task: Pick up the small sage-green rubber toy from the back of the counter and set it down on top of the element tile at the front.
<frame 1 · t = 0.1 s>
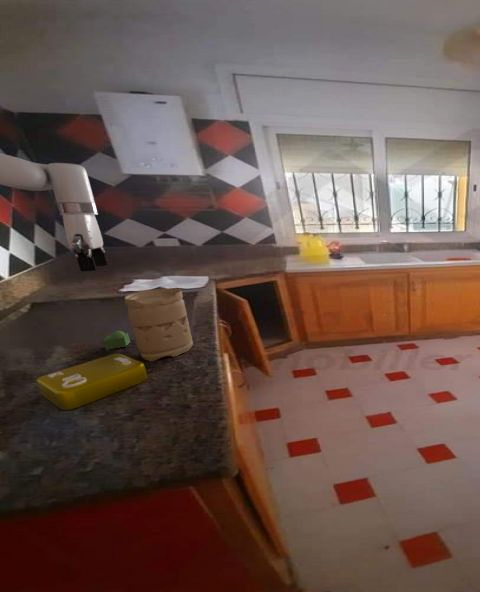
hand: (95, 268, 95), 24 cm above the counter, tool pointing down, fingers open, 9 cm apart
toy: (118, 346, 97), on the counter
element tile: (98, 387, 76), on the counter
container: (168, 352, 94), on the counter
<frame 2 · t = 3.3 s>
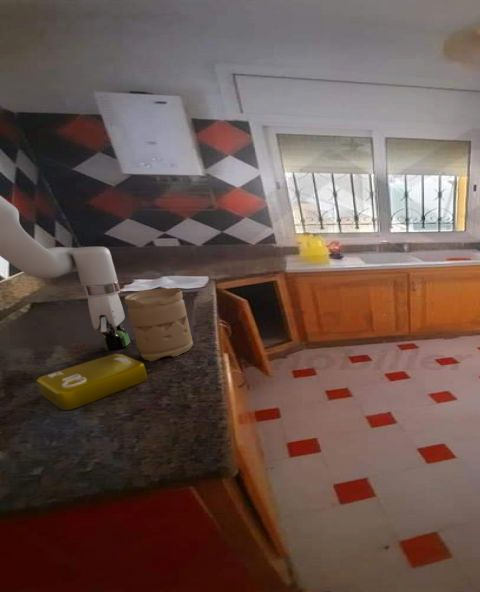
hand: (118, 345, 97), 0 cm above the counter, tool pointing down, fingers closed on toy, 4 cm apart
toy: (118, 346, 97), on the counter, touching gripper
everything else where it was.
when the fingers open (5 cm above the counter, at t = 12.3 s): toy stays where it is, resting on element tile.
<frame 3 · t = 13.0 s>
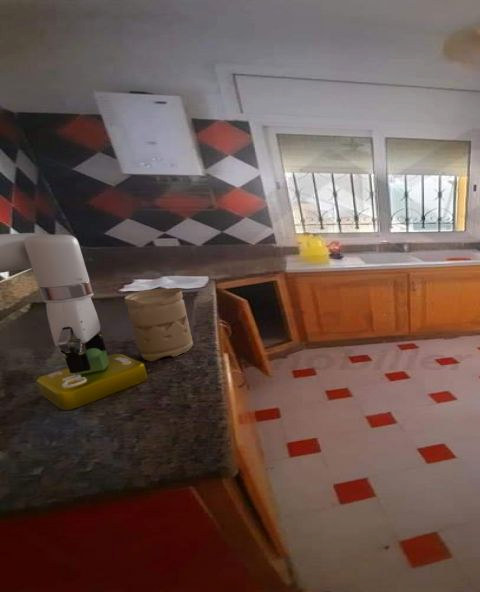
hand: (89, 362, 74), 7 cm above the counter, tool pointing down, fingers open, 9 cm apart
toy: (93, 368, 74), point 5 cm above the counter, touching element tile
element tile: (98, 387, 76), on the counter, touching toy
everything else where it was.
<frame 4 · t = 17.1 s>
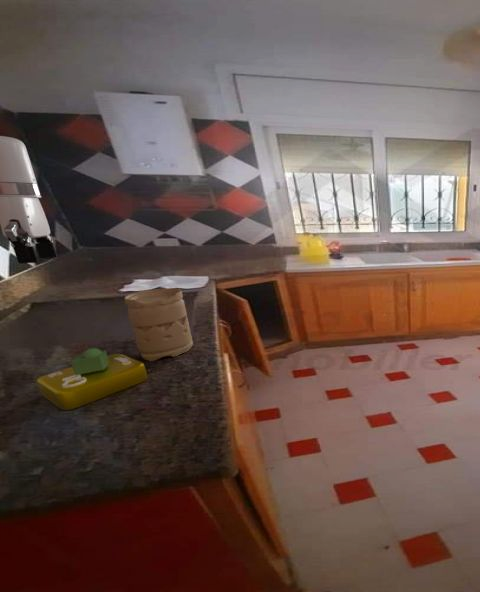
hand: (39, 260, 82), 28 cm above the counter, tool pointing down, fingers open, 9 cm apart
nothing on the counter moved.
at the end: toy inside the target area on the element tile (0.2 cm from its centre), point 5.0 cm above the element tile's base; the gripper is holding nothing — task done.
